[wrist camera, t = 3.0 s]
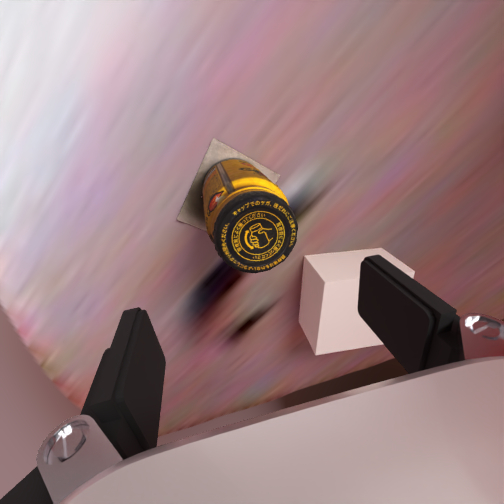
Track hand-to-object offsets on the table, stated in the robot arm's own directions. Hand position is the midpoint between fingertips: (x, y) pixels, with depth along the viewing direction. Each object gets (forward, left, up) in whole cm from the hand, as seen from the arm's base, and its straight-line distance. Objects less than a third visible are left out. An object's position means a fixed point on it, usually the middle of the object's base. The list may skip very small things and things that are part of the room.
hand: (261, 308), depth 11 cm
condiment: (0, 0, -18) cm, 18 cm away
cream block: (+14, +12, -18) cm, 26 cm away
